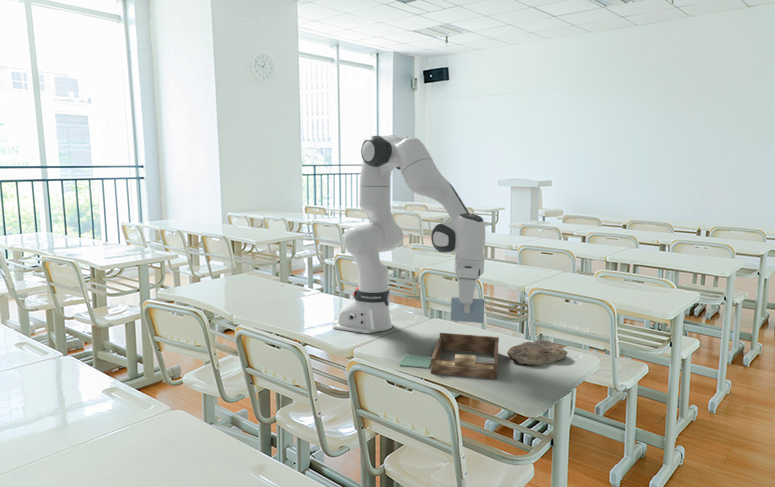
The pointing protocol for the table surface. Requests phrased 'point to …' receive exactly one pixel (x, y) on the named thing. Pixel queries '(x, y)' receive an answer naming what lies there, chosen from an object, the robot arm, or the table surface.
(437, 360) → the offcut
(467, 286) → the robot arm
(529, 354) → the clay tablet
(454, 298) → the sheet
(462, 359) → the offcut top
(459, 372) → the rack
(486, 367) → the offcut
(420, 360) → the pad
